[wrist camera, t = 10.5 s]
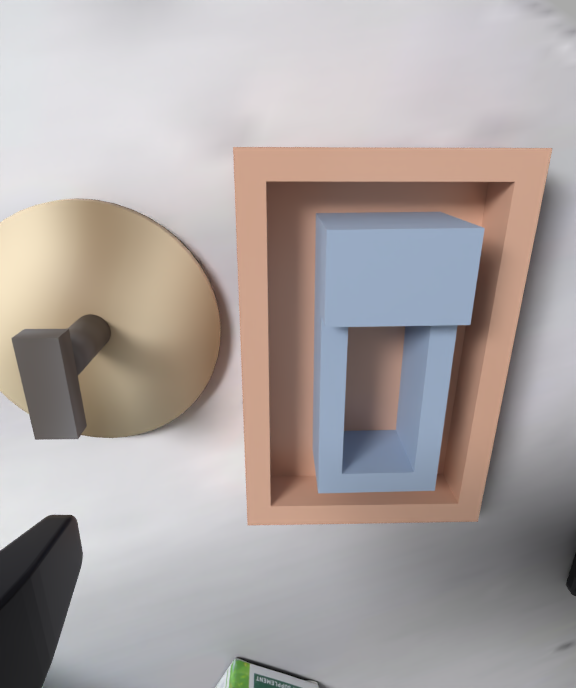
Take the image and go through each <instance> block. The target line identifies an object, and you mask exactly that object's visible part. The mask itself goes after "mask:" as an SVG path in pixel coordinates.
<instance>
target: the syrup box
mask: <svg viewBox="0 0 576 688" xmlns="http://www.w3.org/2000/svg"><path fill="white" fill-rule="evenodd" d="M215 688H319V686H318V683H317V682H315V681H312V680H308V681H305V680H301V679H298V678H295V677H292V676H289V675H286V674H283V673H280V672H276V671H273V670H270V669H267V668H263V667H260V666H257V665H254V664H251V663H248V662H246V661H244V660H241V659H238V658H235V659H234V660H233V662H232V663H231V665H230V666H229V668H228V669H227V671H226V672H225V674H224V675H223V677H222V678H221V680H220V681H219V683H218V684H217V686H216V687H215Z"/></svg>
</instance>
